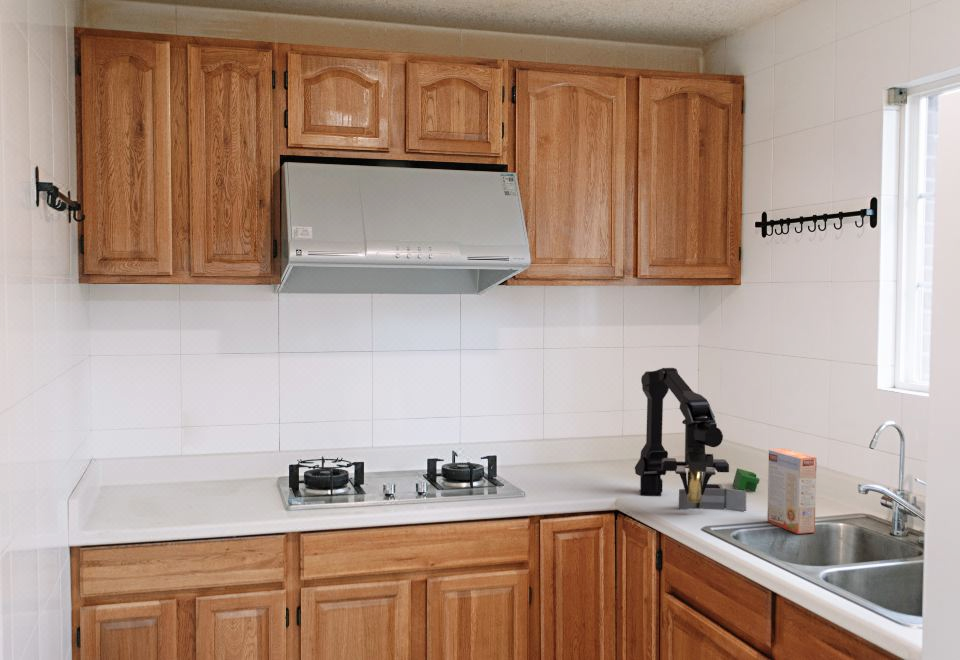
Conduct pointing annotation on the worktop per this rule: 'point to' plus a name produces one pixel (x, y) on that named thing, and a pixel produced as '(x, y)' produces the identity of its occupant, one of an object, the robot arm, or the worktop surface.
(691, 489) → the pin
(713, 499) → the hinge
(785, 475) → the cracker box
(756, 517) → the worktop surface
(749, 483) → the clamp
